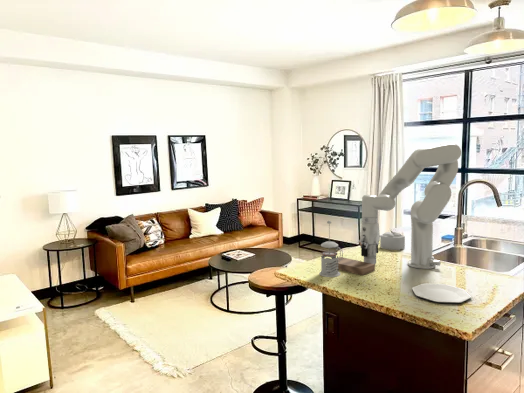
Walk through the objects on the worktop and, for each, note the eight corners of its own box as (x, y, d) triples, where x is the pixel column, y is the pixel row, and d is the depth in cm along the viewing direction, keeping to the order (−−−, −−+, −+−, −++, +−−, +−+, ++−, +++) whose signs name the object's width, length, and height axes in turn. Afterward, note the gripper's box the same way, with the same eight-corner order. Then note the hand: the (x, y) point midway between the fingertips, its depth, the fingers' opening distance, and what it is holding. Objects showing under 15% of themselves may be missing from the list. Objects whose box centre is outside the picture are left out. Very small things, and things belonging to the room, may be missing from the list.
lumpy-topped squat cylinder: (385, 244, 231) (385, 230, 230) (407, 247, 223) (407, 232, 222) (378, 248, 223) (378, 233, 222) (401, 251, 215) (401, 235, 214)
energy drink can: (375, 262, 194) (375, 233, 192) (376, 266, 188) (376, 236, 186) (363, 262, 195) (363, 233, 193) (364, 266, 189) (364, 236, 187)
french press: (315, 272, 181) (314, 220, 179) (335, 268, 186) (335, 217, 183) (326, 278, 172) (325, 223, 170) (348, 274, 177) (347, 220, 174)
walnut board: (374, 270, 182) (374, 264, 181) (362, 275, 175) (362, 269, 175) (340, 262, 196) (339, 256, 196) (327, 266, 190) (327, 260, 190)
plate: (479, 296, 147) (479, 293, 147) (451, 310, 135) (451, 306, 135) (431, 283, 163) (431, 280, 163) (402, 294, 151) (402, 290, 151)
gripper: (366, 223, 180) (366, 259, 182) (386, 218, 192) (385, 252, 194) (353, 221, 186) (353, 256, 188) (372, 217, 197) (372, 250, 199)
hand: (369, 254), depth 191 cm, fingers open, 8 cm apart
